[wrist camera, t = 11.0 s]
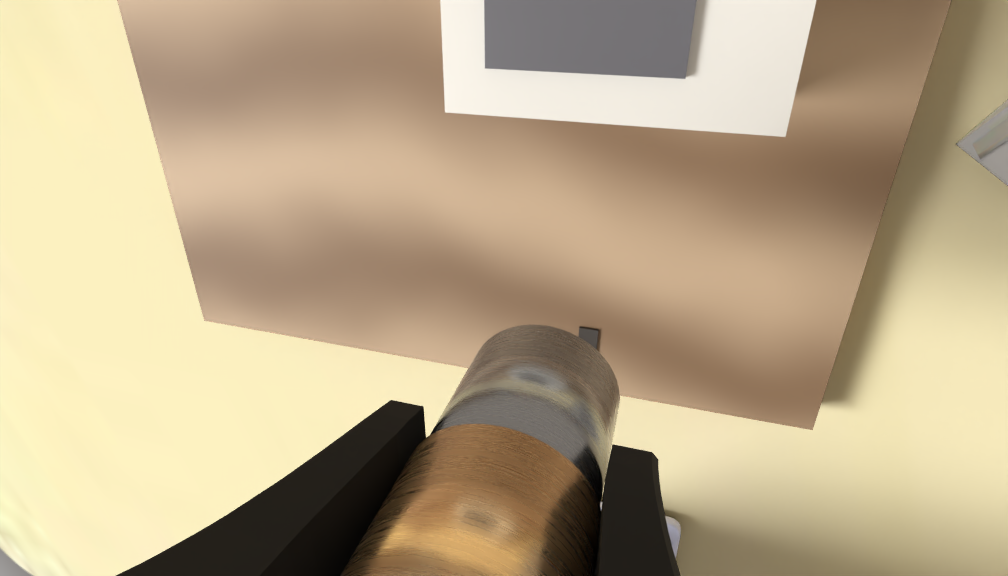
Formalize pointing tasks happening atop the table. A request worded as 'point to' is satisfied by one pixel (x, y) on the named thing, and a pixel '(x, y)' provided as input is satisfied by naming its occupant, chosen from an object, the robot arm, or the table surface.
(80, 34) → the table surface
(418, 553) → the copper and grey cylinder
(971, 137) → the grey bent flat piece
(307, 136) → the subfloor
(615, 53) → the white open box
